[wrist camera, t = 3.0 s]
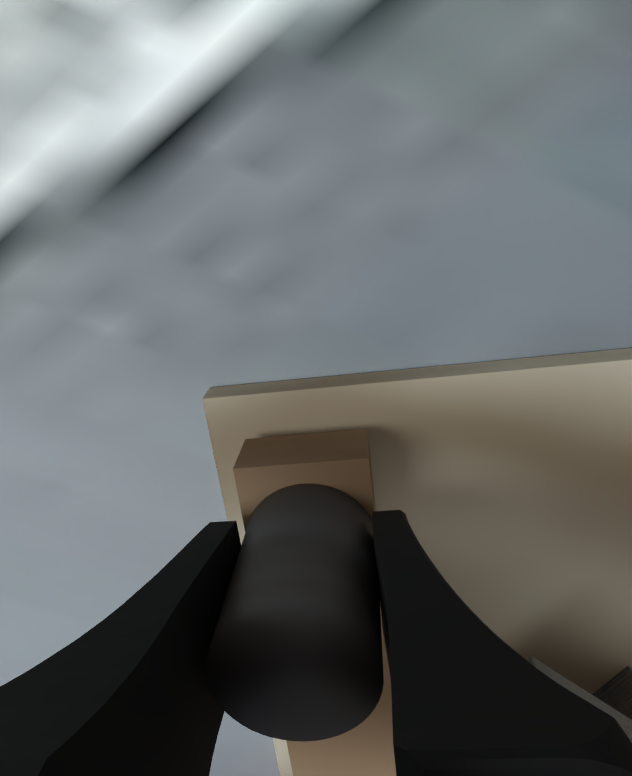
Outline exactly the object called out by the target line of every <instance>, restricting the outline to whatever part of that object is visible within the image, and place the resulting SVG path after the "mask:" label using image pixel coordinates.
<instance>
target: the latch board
mask: <svg viewBox="0 0 632 776" xmlns="http://www.w3.org/2000/svg"><path fill="white" fill-rule="evenodd" d="M202 400H203V405H204V410H205V415H206V419H207V424H208V429H209V434H210V439H211V443H212V448H213V453H214V458H215V463H216V468H217V472H218V477H219V482H220V487H221V492H222V496H223V501H224V506H225V511H226V516H227V520H228V521H236V522H237V527H238V532H239V537H240V542H241V545H242V542H243V539H244V536H245V529H244V524H243V518H242V513H241V508H240V503H239V498H238V493H237V488H236V483H235V478H234V473H233V467H234V465H235V462H236V460H237V457H238V455H239V453H240V450H241V448H242V446H243V443H244V441H245V439H251V438H263V437H275V436H287V435H299V434H311V433H324V432H336V431H348V430H360V429H368V439H369V449H370V458H371V468H372V478H373V488H374V498H375V508H376V511H388V510H401V511H403V512H404V513H405V514H406V517H407V520H408V522H409V524H410V526H411V528H412V530H413V532H414V534H415V536H416V538H417V539H418V541H419V543H420V544H421V546H422V548H423V549H424V551H425V552H426V554H427V555H428V557H429V558H430V559H431V561H432V562H433V564H434V565H435V567H436V568H437V570H438V571H439V572H440V574H441V575H442V576H443V577H444V579H445V580H446V581H447V583H448V584H449V585H450V586H451V587H452V589H453V590H454V591H455V592H456V594H457V595H458V596H459V597H460V598H461V599H462V600H463V602H464V603H465V604H466V605H467V606H468V607H469V608H470V609H471V610H472V611H473V612H474V613H475V614H476V615H477V616H478V617H479V618H480V619H481V620H482V622H483V623H484V624H486V625H487V626H488V627H489V628H490V629H491V630H492V631H493V632H494V633H495V634H496V635H497V636H498V637H499V638H500V639H502V640H503V641H504V642H505V643H506V644H507V645H509V646H510V647H511V648H512V649H514V650H515V651H516V652H517V653H519V654H520V655H521V656H522V657H523V658H525V659H526V660H527V659H528V658H529V657H531V656H532V657H534V658H535V659H537V660H538V661H540V662H542V663H543V664H545V665H546V666H548V667H549V668H551V669H553V670H554V671H556V672H557V673H559V674H560V675H562V676H564V677H565V678H567V679H568V680H570V681H571V682H573V683H575V684H576V685H578V686H579V687H581V688H582V689H584V690H586V691H587V692H589V693H590V694H593V693H594V692H595V691H596V690H598V689H599V688H600V687H602V686H603V685H604V684H605V683H607V682H608V681H609V680H610V679H612V678H613V677H614V676H616V675H617V674H618V673H619V672H621V671H622V670H623V669H624V668H626V667H627V666H629V667H631V668H632V348H626V349H616V350H605V351H594V352H584V353H573V354H562V355H552V356H541V357H530V358H520V359H509V360H498V361H488V362H477V363H466V364H456V365H445V366H434V367H423V368H413V369H402V370H391V371H381V372H370V373H359V374H349V375H338V376H327V377H317V378H306V379H295V380H285V381H274V382H263V383H253V384H242V385H231V386H221V387H210V388H209V390H208V391H207V393H206V394H205V396H204V397H203V399H202ZM273 742H274V747H275V751H276V756H277V761H278V766H279V771H280V775H281V776H293V772H292V767H291V762H290V757H289V752H288V747H287V742H286V740H281V739H276V738H273Z"/></svg>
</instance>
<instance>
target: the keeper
mask: <svg viewBox="0 0 632 776" xmlns="http://www.w3.org/2000/svg"><path fill="white" fill-rule="evenodd" d="M527 661H528V662H530V663H531V664H532V665H533V666H535V667H536V668H537V669H538V670H540V671H541V672H543V673H544V674H545V675H547V676H548V677H550V678H551V679H553V680H554V681H555V682H557V683H558V684H560V685H561V686H563V687H564V688H566V689H568V690H569V691H571V692H573V693H574V694H576V695H577V696H579V697H581V698H582V699H584V700H586V701H587V702H589V703H591V704H592V705H594V706H596V707H597V708H599V709H601V710H602V711H604V712H606V713H607V714H609V715H611V716H612V717H614V718H615V719H616V721H617V722H618V723H619V725H620V726H621V728H622V729H623V731H624V732H625V733H626V735H627V736H628V738H629V739H630V741H631V742H632V668H631V667H629V666H627V667H626V668H624V669H623V670H622V671H621V672H619V673H618V674H617V675H616V676H614V677H613V678H612V679H610V680H609V681H608V682H607V683H605V684H604V685H603V686H602V687H600V688H599V689H598V690H596V691H595V692H594V693H593V694H590V693H589V692H587V691H586V690H584V689H582V688H581V687H579V686H578V685H576V684H575V683H573V682H571V681H570V680H568V679H567V678H565V677H564V676H562V675H560V674H559V673H557V672H556V671H554V670H553V669H551V668H549V667H548V666H546V665H545V664H543V663H542V662H540V661H538V660H537V659H535V658H534V657H532V656H531V657H529V658H528V659H527Z"/></svg>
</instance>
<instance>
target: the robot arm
mask: <svg viewBox="0 0 632 776" xmlns="http://www.w3.org/2000/svg"><path fill="white" fill-rule="evenodd" d="M372 532H373V541H374V551H375V560H376V570H377V577H378V584H379V595H380V608H381V617H382V627H383V634H384V640H385V647H386V653H387V659H388V665H389V671H390V677H391V695H392V723H393V748H394V757H395V766H396V776H632V742H631V741H630V739H629V738H628V736H627V735H626V733H625V732H624V731H623V729H622V728H621V726H620V725H619V723H618V722H617V721H616V719H615V718H614V717H612V716H611V715H609V714H607V713H606V712H604V711H602V710H601V709H599V708H597V707H596V706H594V705H592V704H591V703H589V702H587V701H586V700H584V699H582V698H581V697H579V696H577V695H576V694H574V693H573V692H571V691H569V690H568V689H566V688H564V687H563V686H561V685H560V684H558V683H557V682H555V681H554V680H553V679H551V678H550V677H548V676H547V675H545V674H544V673H543V672H541V671H540V670H538V669H537V668H536V667H535V666H533V665H532V664H531V663H530V662H528V661H527V660H526V659H525V658H523V657H522V656H521V655H520V654H519V653H517V652H516V651H515V650H514V649H512V648H511V647H510V646H509V645H507V644H506V643H505V642H504V641H503V640H502V639H500V638H499V637H498V636H497V635H496V634H495V633H494V632H493V631H492V630H491V629H490V628H489V627H488V626H487V625H486V624H484V623H483V622H482V620H481V619H480V618H479V617H478V616H477V615H476V614H475V613H474V612H473V611H472V610H471V609H470V608H469V607H468V606H467V605H466V604H465V603H464V602H463V600H462V599H461V598H460V597H459V596H458V595H457V594H456V592H455V591H454V590H453V589H452V587H451V586H450V585H449V584H448V583H447V581H446V580H445V579H444V577H443V576H442V575H441V574H440V572H439V571H438V570H437V568H436V567H435V565H434V564H433V562H432V561H431V559H430V558H429V557H428V555H427V554H426V552H425V551H424V549H423V548H422V546H421V544H420V543H419V541H418V539H417V538H416V536H415V534H414V532H413V530H412V528H411V526H410V524H409V522H408V520H407V517H406V514H405V513H404V512H403V511H401V510H388V511H373V512H372ZM240 548H241V542H240V537H239V532H238V527H237V522H236V521H224V522H210V523H209V524H208V525H207V526H206V527H205V528H203V529H202V530H201V531H200V532H199V533H198V534H197V535H196V536H195V537H194V538H193V539H192V540H191V541H190V542H189V543H188V544H187V545H186V546H185V547H184V548H183V549H182V550H181V551H180V552H179V553H178V554H177V555H176V556H175V557H174V558H173V559H172V560H171V561H170V562H169V563H168V564H167V565H166V566H165V567H164V568H163V569H162V570H161V571H160V572H159V573H158V574H157V575H155V576H154V577H153V578H152V579H151V580H150V581H149V582H148V583H146V584H145V585H144V586H143V587H142V588H141V589H140V590H139V591H137V592H136V593H135V594H134V595H133V596H132V597H131V598H129V599H128V600H127V601H126V602H125V603H124V604H123V605H122V606H120V607H119V608H118V609H117V610H115V611H114V612H113V613H112V614H110V615H109V616H108V617H107V618H105V619H104V620H103V621H101V622H100V623H99V624H97V625H96V626H95V627H93V628H92V629H91V630H89V631H88V632H87V633H85V634H84V635H82V636H81V637H80V638H78V639H77V640H75V641H74V642H72V643H71V644H69V645H68V646H66V647H65V648H63V649H62V650H60V651H58V652H57V653H55V654H54V655H52V656H51V657H49V658H48V659H46V660H44V661H43V662H41V663H40V664H38V665H37V666H35V667H34V668H32V669H30V670H29V671H27V672H25V673H24V674H22V675H20V676H18V677H17V678H15V679H13V680H11V681H10V682H8V683H6V684H4V685H2V686H1V687H0V776H209V772H210V767H211V761H212V756H213V752H214V748H215V744H216V740H217V735H218V732H219V728H220V725H221V721H222V718H223V714H224V709H223V708H222V707H221V706H220V705H219V704H218V702H217V701H216V699H215V698H214V696H213V694H212V692H211V690H210V688H209V685H208V682H207V677H206V658H207V653H208V650H209V647H210V644H211V641H212V638H213V634H214V631H215V628H216V625H217V622H218V618H219V615H220V612H221V609H222V606H223V602H224V599H225V596H226V593H227V590H228V587H229V583H230V580H231V577H232V574H233V571H234V567H235V564H236V561H237V558H238V555H239V551H240Z"/></svg>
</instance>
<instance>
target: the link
mask: <svg viewBox="0 0 632 776" xmlns="http://www.w3.org/2000/svg"><path fill="white" fill-rule="evenodd" d="M233 473H234V478H235V483H236V488H237V493H238V498H239V503H240V508H241V513H242V518H243V524H244V529H245V536H244V539H243V542H242V545H241V548H240V551H239V555H238V558H237V561H236V564H235V567H234V571H233V574H232V577H231V580H230V583H229V587H228V590H227V593H226V596H225V599H224V602H223V606H222V609H221V612H220V615H219V618H218V622H217V625H216V628H215V631H214V634H213V638H212V641H211V644H210V647H209V650H208V653H207V658H206V677H207V682H208V685H209V688H210V690H211V692H212V694H213V696H214V698H215V699H216V701H217V702H218V704H219V705H220V706H221V707H222V708H223V709H224V711H225V712H226V713H227V714H229V715H230V716H231V717H232V718H233V719H235V720H236V721H237V722H239V723H240V724H242V725H243V726H245V727H247V728H249V729H251V730H253V731H255V732H258V733H260V734H262V735H266V736H269V737H272V738H276V739H281V740H286V742H287V747H288V752H289V757H290V762H291V767H292V772H293V776H396V766H395V757H394V748H393V723H392V695H391V677H390V671H389V665H388V659H387V653H386V647H385V640H384V634H383V627H382V617H381V608H380V595H379V584H378V577H377V570H376V560H375V551H374V541H373V532H372V512H373V511H376V508H375V498H374V488H373V478H372V468H371V458H370V449H369V439H368V429H360V430H348V431H336V432H324V433H311V434H299V435H287V436H275V437H263V438H251V439H245V441H244V443H243V446H242V448H241V450H240V453H239V455H238V457H237V460H236V462H235V465H234V467H233Z"/></svg>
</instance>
